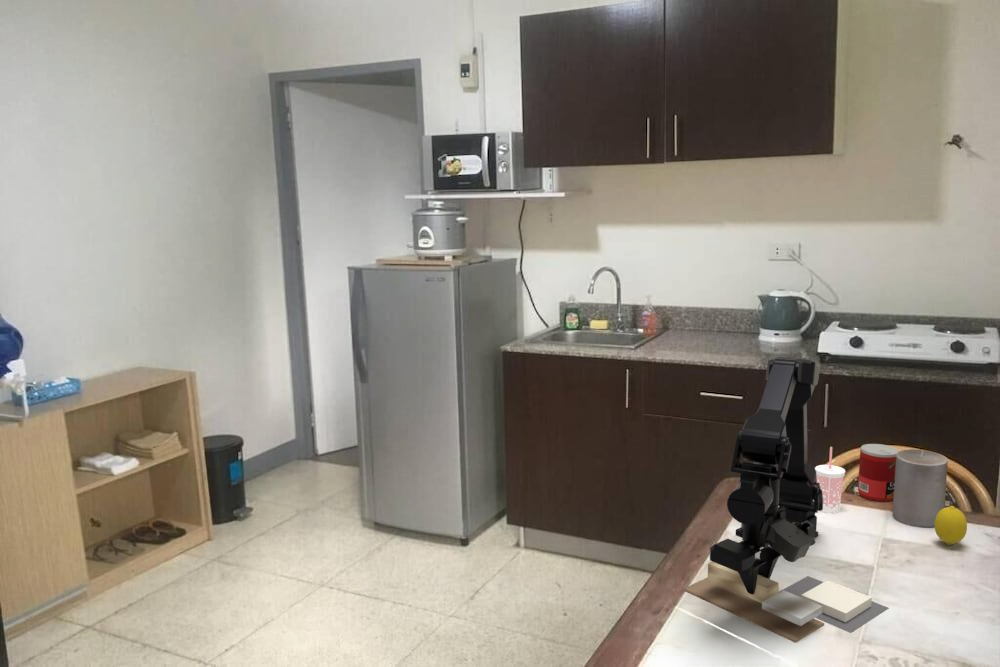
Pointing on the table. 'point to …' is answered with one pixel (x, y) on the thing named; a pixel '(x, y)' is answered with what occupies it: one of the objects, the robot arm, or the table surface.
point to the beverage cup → (830, 485)
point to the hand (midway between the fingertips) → (756, 590)
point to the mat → (848, 626)
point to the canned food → (877, 472)
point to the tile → (838, 600)
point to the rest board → (751, 610)
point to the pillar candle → (919, 487)
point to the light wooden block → (767, 595)
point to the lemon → (950, 525)
